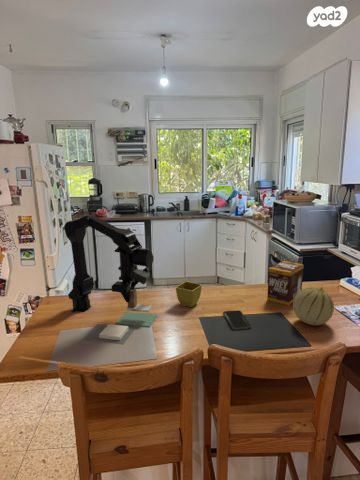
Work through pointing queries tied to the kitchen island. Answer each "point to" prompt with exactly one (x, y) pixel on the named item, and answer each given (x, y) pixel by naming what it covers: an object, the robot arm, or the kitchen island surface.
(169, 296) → the kitchen island surface
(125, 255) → the robot arm
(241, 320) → the phone
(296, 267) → the supplement box
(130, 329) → the mat
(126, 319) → the board
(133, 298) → the upright brown pillar
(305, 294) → the cantaloupe
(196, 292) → the flower pot
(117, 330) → the tile
